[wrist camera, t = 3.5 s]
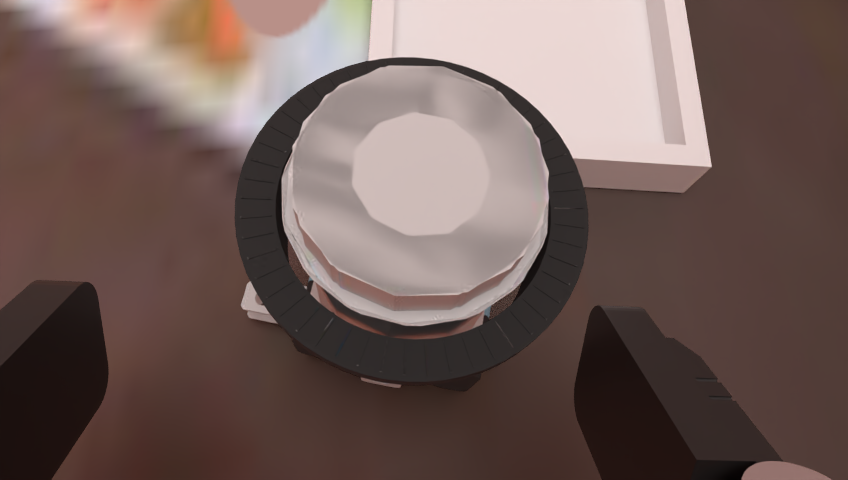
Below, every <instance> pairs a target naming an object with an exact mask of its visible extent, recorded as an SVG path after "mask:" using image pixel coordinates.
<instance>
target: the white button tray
mask: <svg viewBox="0 0 848 480" xmlns="http://www.w3.org/2000/svg"><path fill="white" fill-rule="evenodd" d="M396 57H417V58H427V59H435V60H441V61H446V62H451V63H455V64H458V65H462V66H465V67H468V68H471V69H473V70H476V71H479V72H481V73H484V74H486V75H488V76H490V77H492V78H494V79H496V80H498V81H500V82H501V83H503V84H505V85H506V86H508V87H510V88H511V89H513V90H514V91H516V92H517V93H518V94H520V95H521V96H522V97H524V98H525V99H526V100H528V101H529V102H530V103H531V104H532V105H533V106H534V107H535V108H537V109H538V110H539V111H540V112H541V113H542V115H543V116H544V117H545V118H546V119H547V120H548V121H549V122H550V123H551V125H552V126H553V127H554V128H555V130H556V131H557V132H558V134H559V135H560V136H561V138H562V140H563V141H564V143H565V144H566V146H567V148H568V149H569V151H570V153H571V155H572V157H573V159H574V161H575V164H576V166H577V169H578V171H579V174H580V177H581V180H582V183H583V187H592V188H609V189H626V190H643V191H659V192H676V193H684V192H685V191H686V190H687V189H688V188H689V187H690V186H691V185H692V184H694V183H695V182H696V181H697V180H698V179H699V178H700V177H701V176H702V175H703V174H704V173H706V172H707V171H708V170H709V169H710V168H711V167H712V166H711V160H710V153H709V147H708V141H707V135H706V129H705V123H704V117H703V111H702V105H701V99H700V93H699V87H698V81H697V75H696V69H695V63H694V57H693V51H692V45H691V39H690V33H689V27H688V21H687V14H686V8H685V2H684V0H372V14H371V29H370V44H369V59H368V61H371V60H377V59H383V58H396Z"/></svg>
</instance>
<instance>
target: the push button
mask: <svg viewBox="0 0 848 480" xmlns="http://www.w3.org/2000/svg"><path fill="white" fill-rule="evenodd" d="M235 227H236V237H237V242H238V247H239V252H240V256H241V258H242V261H243V264H244V267H245V270H246V273H247V275H248V277H249V279H250V281H251V282H249V283H248V284H247V287H246V290H245V294H244V297H243V300H242V304H241V306H242V308H243V310H247V311H248V313H247V315H248V316H249V318H251V319H256V320H261V321H266V322H271V323H276V324H278V325H279V326H280V327H281V328H282V329H283V330H284V331H285V332H286V333H287V334H288V335H289V336H290V337H291V338H292V339H293V343H294V345H295V347H296V349H297V351H299V352H301V353H304V354H308V355H312V356H316V357H318V358H319V359H321V360H323V361H324V362H326V363H328V364H330V365H332V366H334V367H336V368H338V369H340V370H342V371H345V372H347V373H350V374H353V375H356V376H359V377H361V380H362V381H365V382H368V383H373V384H378V385H383V386H388V387H393V388H400V387H401V385H432V384H433V385H434V386H437V387H441V388H446V389H451V390H456V391H467V390H468V389H469V388H471V387H472V386H473V385H474V384H475V383H476V382H477V381H478V380H480V377H481V373H483V372H485V371H487V370H489V369H491V368H494V367H496V366H498V365H500V364H501V363H503V362H505V361H506V360H508V359H510V358H511V357H513V356H515V355H516V354H517V353H519V352H520V351H521V350H523V349H524V348H525V347H526V346H528V345H529V344H530V343H531V342H533V341H534V340H535V339H536V338H537V337H538V336H539V335H540V334H541V333H542V332H543V331H544V330H545V329H546V328H547V327H548V326H549V325H550V324H551V323H552V321H553V320H554V319H555V318H556V317H557V315H558V314H559V313H560V312H561V310H562V308H563V307H564V305H565V304H566V302H567V300H568V299H569V297H570V295H571V293H572V291H573V289H574V287H575V285H576V283H577V281H578V278H579V275H580V272H581V269H582V266H583V263H584V258H585V253H586V249H587V240H588V209H587V202H586V195H585V191H584V187H583V183H582V180H581V177H580V174H579V171H578V169H577V166H576V164H575V161H574V159H573V157H572V155H571V153H570V151H569V149H568V148H567V146H566V144H565V143H564V141H563V140H562V138H561V136H560V135H559V134H558V132H557V131H556V130H555V128H554V127H553V126H552V125H551V123H550V122H549V121H548V120H547V119H546V118H545V117H544V116H543V115H542V113H541V112H540V111H539V110H538V109H537V108H535V107H534V106H533V105H532V104H531V103H530V102H529V101H528V100H526V99H525V98H524V97H522V96H521V95H520V94H518V93H517V92H516V91H514V90H513V89H511V88H510V87H508V86H506V85H505V84H503V83H501V82H500V81H498V80H496V79H494V78H492V77H490V76H488V75H486V74H484V73H481V72H479V71H476V70H473V69H471V68H468V67H465V66H462V65H458V64H455V63H451V62H446V61H441V60H435V59H427V58H417V57H396V58H383V59H377V60H371V61H365V62H362V63H358V64H354V65H350V66H347V67H345V68H342V69H339V70H336V71H334V72H332V73H330V74H327V75H325V76H323V77H321V78H319V79H317V80H316V81H314V82H312V83H311V84H309V85H307V86H306V87H304V88H303V89H301V90H300V91H299V92H297V93H296V94H295V95H293V96H292V97H291V98H290V99H288V100H287V101H286V102H285V103H284V104H283V105H282V106H281V107H280V108H279V109H278V110H277V111H276V112H275V113H274V114H273V115H272V117H271V118H270V119H269V120H268V121H267V122H266V124H265V125H264V127H263V128H262V130H261V131H260V132H259V134H258V135H257V137H256V139H255V141H254V143H253V144H252V146H251V148H250V150H249V152H248V154H247V157H246V159H245V162H244V164H243V167H242V170H241V174H240V178H239V181H238V186H237V193H236V199H235ZM288 239H289V241H290V243H291V245H292V247H293V249H294V251H295V253H296V255H297V257H298V259H299V261H300V263H301V265H302V267H303V268H304V270H305V271H306V272H307V274H308V275H309V276H310V277H309V281H308V285H307V286H303V285H302V283H301V282H300V281H299V279H298V278H297V277H296V275H295V273H294V272H293V270H292V268H291V266H290V265H289V258H288ZM521 282H522V284H521V286H520V289H519V291H518V294H517V296H516V298H515V299H514V301H513V303H512V305H510V306H509V307H508V308H507V309H505V310H504V311H503V312H502V313H500V314H499V315H497V316H496V317H494V318H492V319H491V320H489V315H490V308H491V305H492V304H494V303H495V302H497V301H498V300H500V299H501V298H503V297H504V296H506V295H507V294H509V293H510V292H512V291H513V290H514V289H515V288H516V287H517V286H518V285H519V284H520V283H521ZM262 304H264V305H263V306H262Z"/></svg>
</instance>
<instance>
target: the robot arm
mask: <svg viewBox="0 0 848 480" xmlns="http://www.w3.org/2000/svg"><path fill="white" fill-rule="evenodd" d="M107 383H108V361H107V354H106V347H105V341H104V334H103V328H102V321H101V314H100V308H99V301H98V296H97V292H96V290H95V288H94V286H93V285H92V284H91V283H88V282H72V281H49V280H36V281H34V282H32V283H31V284H30V285H28V286H27V287H26V288H25V289H24V290H23V291H22V292H21V293H19V294H18V295H17V296H16V297H15V298H14V299H13V300H11V301H10V302H9V303H8V304H7V305H6V306H5V307H3V308H2V309H1V310H0V480H51V479H52V478H53V476H54V474H55V473H56V471H57V470H58V468H59V467H60V465H61V464H62V462H63V461H64V459H65V458H66V456H67V455H68V453H69V452H70V450H71V449H72V447H73V446H74V444H75V443H76V441H77V440H78V438H79V437H80V435H81V434H82V432H83V431H84V429H85V428H86V426H87V425H88V423H89V422H90V420H91V419H92V417H93V416H94V414H95V413H96V411H97V410H98V408H99V406H100V405H101V403H102V401H103V398H104V395H105V392H106V388H107ZM731 397H732V396H731V395H730V394H729V392H728V391H727V390H726V389H725V387H724V386H723V385H722V384H721V383H718V382H717V377H716V376H715V375H714V374H713V372H712V371H711V370H710V369H709V367H708V366H707V365H706V363H705V362H704V361H703V360H702V358H701V357H700V356H698V355H697V354H695V353H694V352H693V351H691V350H690V349H688V348H687V347H685V346H684V345H683V344H681V343H680V342H678V341H677V340H675V339H674V338H665V337H664V335H663V334H662V333H661V331H660V330H659V328H658V327H657V326H656V324H655V323H654V322H653V320H652V319H651V318H650V316H649V315H648V314H647V312H646V311H645V310H644V309H643V308H640V307H621V306H595V307H594V308H593V309H592V311H591V313H590V316H589V320H588V324H587V329H586V334H585V338H584V343H583V348H582V353H581V357H580V362H579V367H578V372H577V376H576V381H575V388H574V404H575V412H576V416H577V420H578V423H579V425H580V428H581V430H582V432H583V435H584V437H585V440H586V442H587V445H588V447H589V449H590V452H591V454H592V457H593V459H594V462H595V464H596V466H597V469H598V471H599V474H600V476H601V479H602V480H832V479H830V478H828V477H826V476H824V475H822V474H820V473H818V472H816V471H814V470H811V469H808V468H805V467H803V466H799V465H796V464H792V463H786V462H783V460H782V459H781V458H780V457H779V455H778V454H777V453H776V452H775V450H774V449H773V448H772V447H771V445H770V444H769V443H768V442H767V440H766V439H765V438H764V436H763V435H762V434H761V433H760V431H759V430H758V429H757V428H756V426H755V425H754V424H753V423H752V421H751V420H750V419H749V418H748V416H747V415H746V414H745V413H744V411H743V410H742V409H741V408H740V406H739V405H738V404H737V402H736V401H732V399H731Z"/></svg>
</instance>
